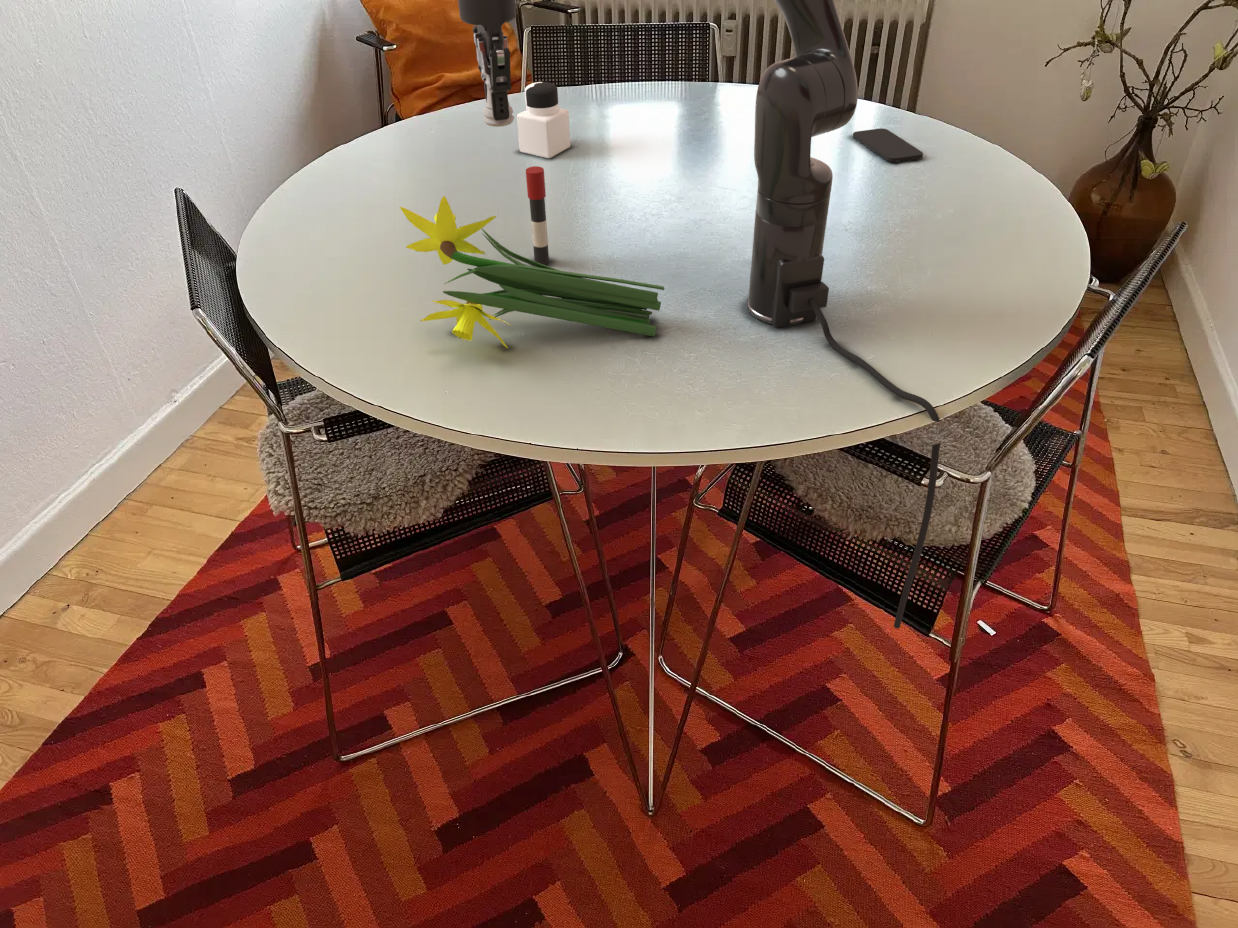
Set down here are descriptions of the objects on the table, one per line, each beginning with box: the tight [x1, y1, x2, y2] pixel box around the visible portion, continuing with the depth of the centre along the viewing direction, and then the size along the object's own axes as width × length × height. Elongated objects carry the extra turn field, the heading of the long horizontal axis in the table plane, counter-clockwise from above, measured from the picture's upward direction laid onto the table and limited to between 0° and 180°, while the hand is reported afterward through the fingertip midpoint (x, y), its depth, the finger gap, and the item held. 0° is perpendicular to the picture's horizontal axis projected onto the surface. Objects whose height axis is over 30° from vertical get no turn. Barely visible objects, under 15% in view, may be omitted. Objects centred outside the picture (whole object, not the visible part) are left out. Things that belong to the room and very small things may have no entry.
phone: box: [852, 128, 924, 163], centre depth 172 cm, size 7×1×15 cm
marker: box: [525, 165, 550, 266], centre depth 134 cm, size 3×3×14 cm
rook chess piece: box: [482, 65, 515, 128], centre depth 128 cm, size 4×4×8 cm
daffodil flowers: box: [399, 195, 665, 349], centre depth 119 cm, size 17×15×35 cm
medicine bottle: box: [516, 81, 571, 159], centre depth 171 cm, size 7×7×12 cm
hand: (497, 113), depth 129 cm, fingers closed on rook chess piece, 4 cm apart
